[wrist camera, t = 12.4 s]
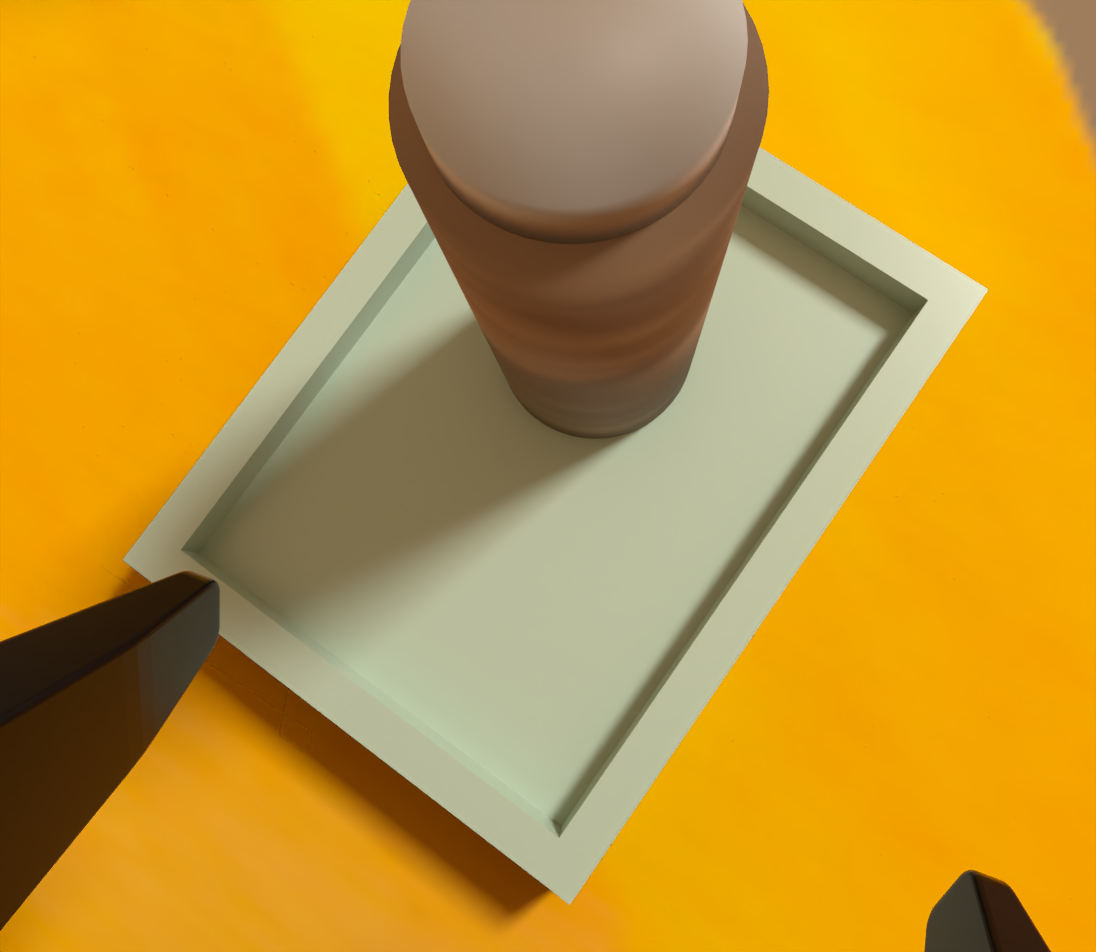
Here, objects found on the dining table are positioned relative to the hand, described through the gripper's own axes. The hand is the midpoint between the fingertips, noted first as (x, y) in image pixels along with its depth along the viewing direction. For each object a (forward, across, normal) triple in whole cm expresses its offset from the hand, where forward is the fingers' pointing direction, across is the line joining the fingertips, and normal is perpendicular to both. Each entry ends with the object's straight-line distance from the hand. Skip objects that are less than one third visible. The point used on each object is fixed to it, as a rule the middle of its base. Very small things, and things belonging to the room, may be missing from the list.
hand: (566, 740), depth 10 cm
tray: (+12, +3, +4) cm, 13 cm away
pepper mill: (+13, +2, +1) cm, 13 cm away
